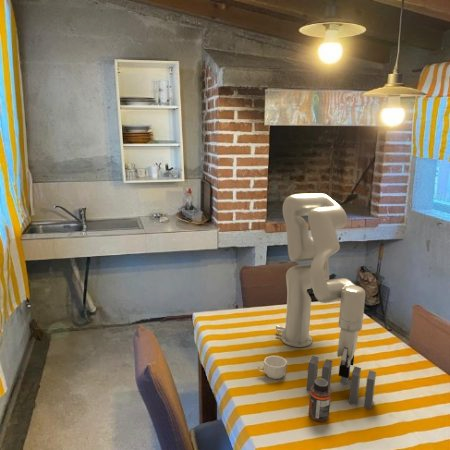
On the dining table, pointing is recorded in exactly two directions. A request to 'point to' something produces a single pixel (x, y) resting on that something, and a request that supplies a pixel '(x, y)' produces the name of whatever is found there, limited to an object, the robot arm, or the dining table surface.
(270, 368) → the teacup
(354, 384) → the domino
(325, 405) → the supplement bottle
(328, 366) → the domino
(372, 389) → the domino
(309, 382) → the domino
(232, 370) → the dining table surface
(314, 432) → the dining table surface
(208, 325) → the dining table surface
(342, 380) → the domino
